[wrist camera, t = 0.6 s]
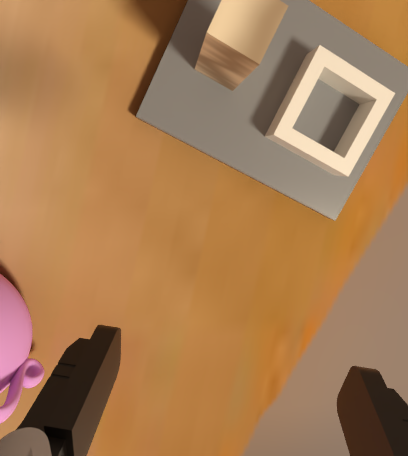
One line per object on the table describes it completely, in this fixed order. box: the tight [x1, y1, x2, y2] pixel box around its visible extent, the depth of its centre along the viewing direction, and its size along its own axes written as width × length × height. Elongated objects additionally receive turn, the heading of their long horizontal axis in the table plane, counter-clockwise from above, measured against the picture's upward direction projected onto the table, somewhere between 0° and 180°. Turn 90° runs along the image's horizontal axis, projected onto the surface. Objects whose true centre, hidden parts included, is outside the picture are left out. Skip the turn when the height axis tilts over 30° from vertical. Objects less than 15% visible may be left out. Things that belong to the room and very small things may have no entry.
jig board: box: [136, 0, 408, 220], centre depth 34 cm, size 25×18×4 cm
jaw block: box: [195, 0, 288, 91], centre depth 28 cm, size 4×4×10 cm
